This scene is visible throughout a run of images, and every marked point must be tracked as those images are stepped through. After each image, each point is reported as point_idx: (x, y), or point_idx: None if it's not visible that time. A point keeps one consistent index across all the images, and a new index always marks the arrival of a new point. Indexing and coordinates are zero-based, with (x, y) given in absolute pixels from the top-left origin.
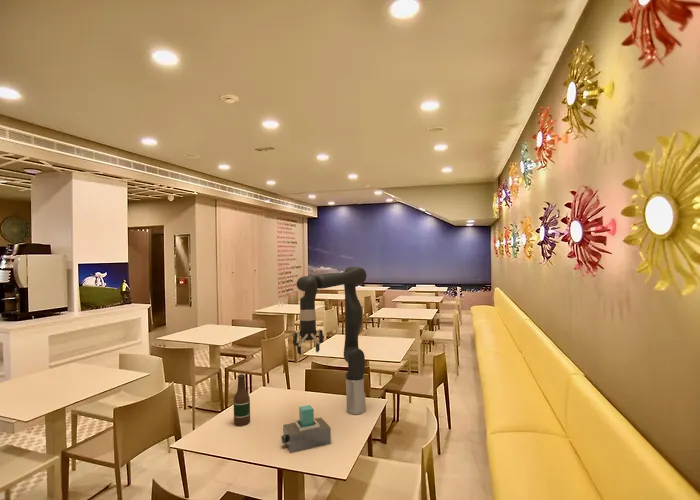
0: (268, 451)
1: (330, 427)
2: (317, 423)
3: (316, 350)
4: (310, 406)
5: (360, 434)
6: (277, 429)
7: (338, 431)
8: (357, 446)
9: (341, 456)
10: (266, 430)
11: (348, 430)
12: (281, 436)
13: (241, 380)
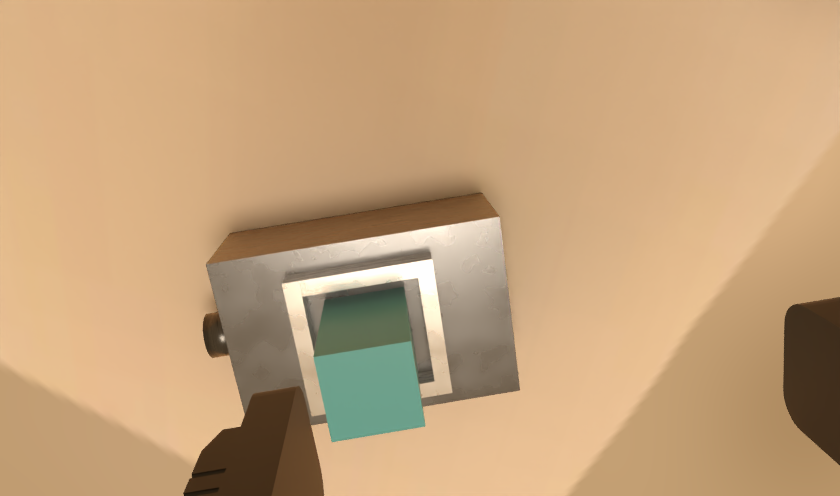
0: (142, 337)
1: (519, 389)
2: (442, 372)
3: (815, 384)
4: (409, 375)
5: (696, 283)
6: (188, 45)
7: (587, 206)
8: (626, 408)
9: (517, 478)
10: (106, 37)
11: (650, 211)
12: (203, 325)
13: None
